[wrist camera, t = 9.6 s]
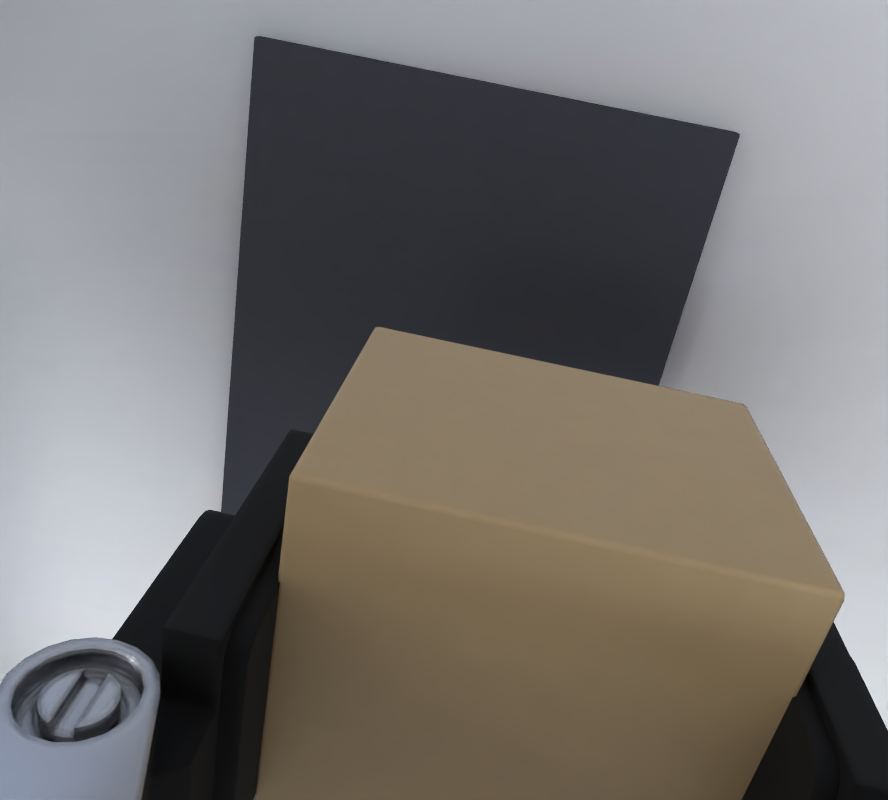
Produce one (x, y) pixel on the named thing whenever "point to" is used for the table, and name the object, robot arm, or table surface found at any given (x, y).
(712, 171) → the mat
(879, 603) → the table surface
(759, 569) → the tan rectangular block
